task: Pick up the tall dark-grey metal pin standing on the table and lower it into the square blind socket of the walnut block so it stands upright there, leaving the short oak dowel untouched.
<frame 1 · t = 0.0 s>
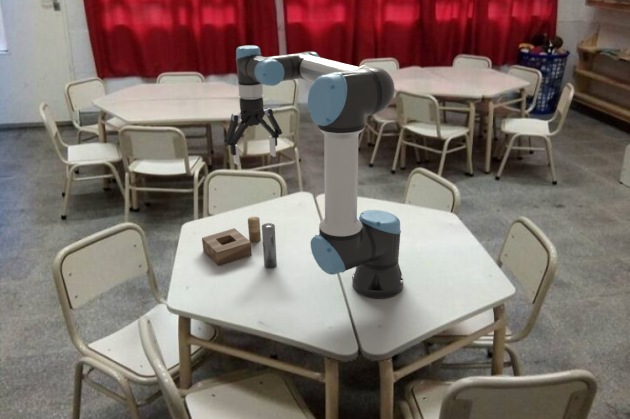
hand: (255, 159, 184), 28 cm above the table, fingers open, 13 cm apart
socket block: (227, 253, 183), on the table
oak dowel: (255, 239, 191), on the table
metal pin: (270, 265, 176), on the table
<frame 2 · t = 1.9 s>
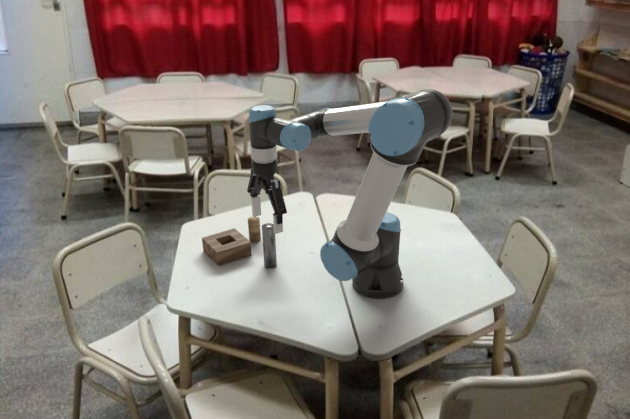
hand: (267, 223, 170), 15 cm above the table, fingers open, 13 cm apart
nothing on the table moved.
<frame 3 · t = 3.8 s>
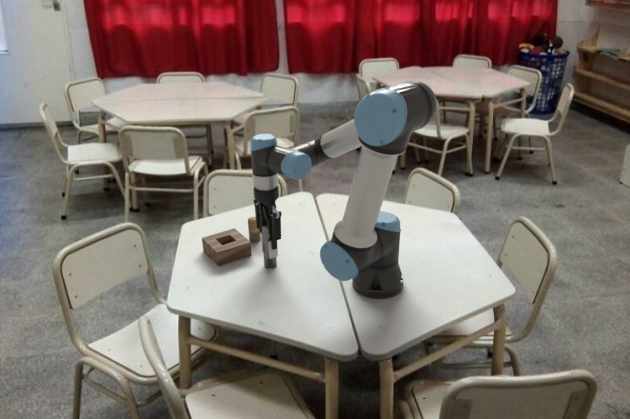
hand: (269, 253, 174), 4 cm above the table, fingers closed on metal pin, 4 cm apart
metal pin: (270, 265, 176), on the table, touching gripper
everything else where it was.
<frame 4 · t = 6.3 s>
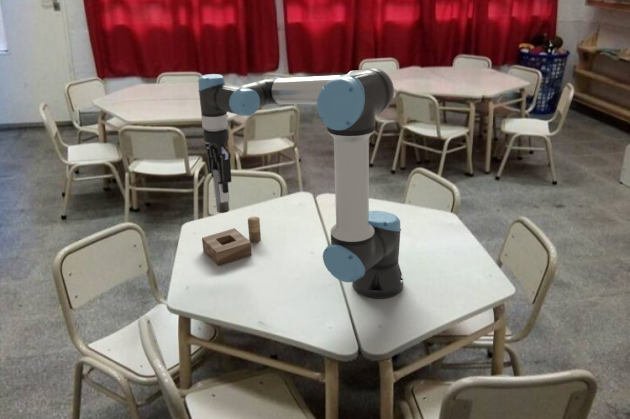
hand: (222, 198, 175), 20 cm above the table, fingers closed on metal pin, 4 cm apart
metal pin: (223, 210, 176), point 16 cm above the table, touching gripper
everything else where it was.
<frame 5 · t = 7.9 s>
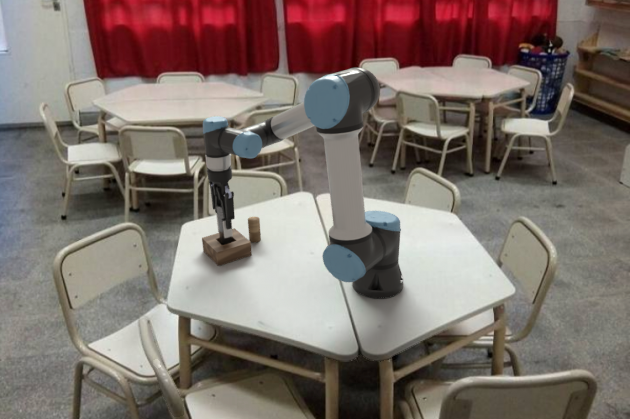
hand: (225, 233, 180), 7 cm above the table, fingers closed on metal pin, 4 cm apart
metal pin: (226, 244, 182), point 3 cm above the table, touching gripper
everything else where it was.
when the fingers open (6 cm above the table, at t = 9.0 s): metal pin drops 1 cm, resting on socket block.
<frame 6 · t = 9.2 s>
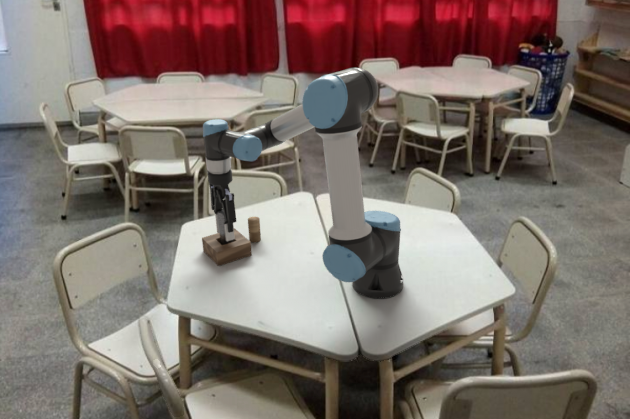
hand: (225, 235, 180), 7 cm above the table, fingers open, 6 cm apart
metal pin: (227, 250, 183), point 1 cm above the table, touching socket block
everything else where it was.
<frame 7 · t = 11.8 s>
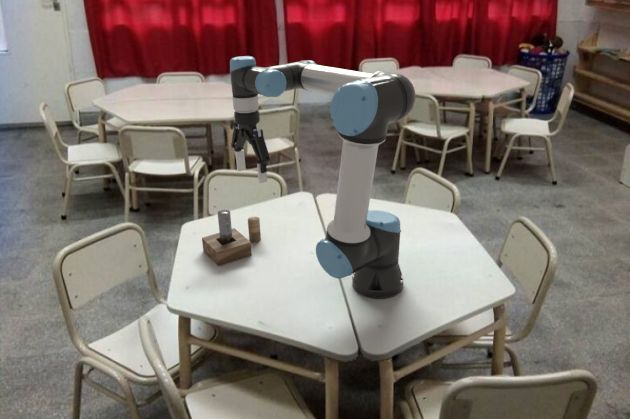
hand: (251, 176, 174), 26 cm above the table, fingers open, 13 cm apart
nothing on the table moved.
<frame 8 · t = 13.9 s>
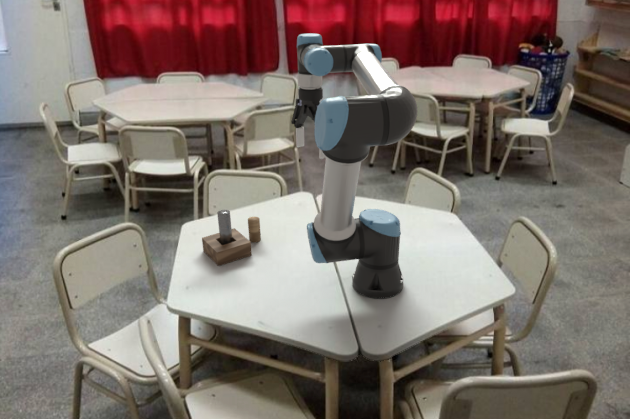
hand: (311, 152, 178), 32 cm above the table, fingers open, 13 cm apart
nothing on the table moved.
at the end: metal pin 0.1 cm off-centre on the socket block, point 1.0 cm above the socket block's base; metal pin tilted 1°; the gripper is holding nothing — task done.
